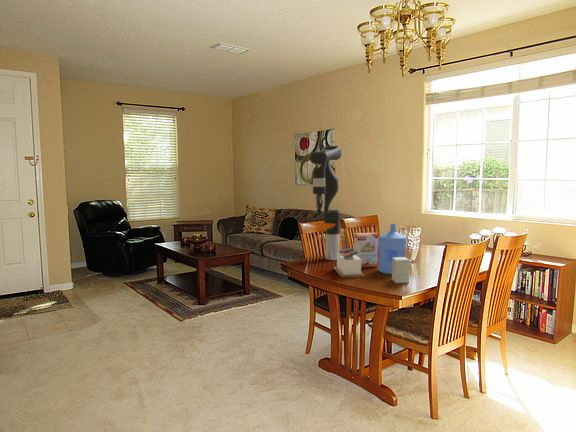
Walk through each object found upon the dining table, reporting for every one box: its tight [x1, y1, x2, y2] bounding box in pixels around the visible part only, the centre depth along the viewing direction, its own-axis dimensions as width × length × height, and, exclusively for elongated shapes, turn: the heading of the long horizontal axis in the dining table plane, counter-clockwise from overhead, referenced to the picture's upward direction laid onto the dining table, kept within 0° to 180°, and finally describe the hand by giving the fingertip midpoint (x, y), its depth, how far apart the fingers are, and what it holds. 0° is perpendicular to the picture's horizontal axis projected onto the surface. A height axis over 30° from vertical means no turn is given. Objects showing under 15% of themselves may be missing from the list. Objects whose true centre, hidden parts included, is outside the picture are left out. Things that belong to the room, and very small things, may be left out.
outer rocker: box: [343, 250, 358, 258], centre depth 239 cm, size 4×8×2 cm, turn 95°
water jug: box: [377, 223, 408, 275], centre depth 246 cm, size 16×16×28 cm
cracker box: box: [353, 232, 379, 269], centre depth 260 cm, size 14×6×21 cm, turn 105°
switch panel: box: [333, 253, 365, 278], centre depth 245 cm, size 21×13×11 cm, turn 5°
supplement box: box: [391, 256, 411, 284], centre depth 225 cm, size 7×7×13 cm
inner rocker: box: [339, 247, 354, 254], centre depth 250 cm, size 4×8×2 cm, turn 95°
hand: (318, 215), depth 250 cm, fingers closed
